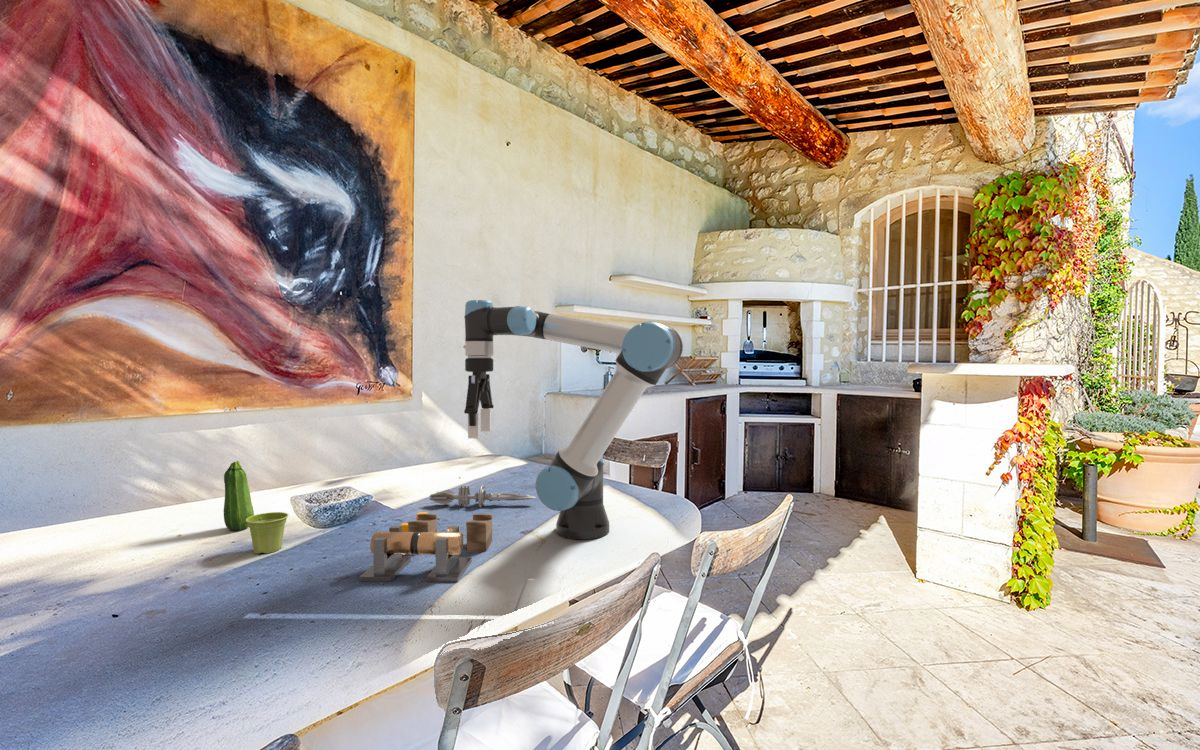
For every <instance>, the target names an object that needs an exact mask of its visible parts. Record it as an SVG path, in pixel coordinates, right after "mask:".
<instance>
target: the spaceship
mask: <svg viewBox="0 0 1200 750" xmlns="http://www.w3.org/2000/svg"><path fill="white" fill-rule="evenodd" d="M429 497H430V498H429V500H428V501H433V502H434V503H437V504H441V505H444V506H446V505H448V504H450V503H452V502H453V501H455V500H457V501H458V507H459V506H461V507H462V506H463V507H462V508H465V507H468V504H469V505H470V502H471V500H474V501H475V503H478V506H479V507H478V508H479V509H482V507H483V506H485V505H486V501H488V502H493V501H497V502H500V501H526V500H527V501H529V500H533V499H537V496H534V495H531V494H519V493H518V494H517V493H509V492H507V493H500V492H498V493H493V492H489V493H487V492H486V488H485V485H484V484H482V485H481V486H480V487H479V490H478V492H475V494H473V495H472V494H471V492H470V486H467V487H466V486H465V485H462V486H460V487H459V488H458V494H457V495H455V492H454V491H452V490H450V489H446V490H445V489H444V490H442V491H437V492H435V493H432V494H430V495H429ZM461 504H462V505H461ZM464 504H466V505H464Z"/></svg>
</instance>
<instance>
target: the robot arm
mask: <svg viewBox="0 0 1200 750" xmlns="http://www.w3.org/2000/svg"><path fill="white" fill-rule="evenodd" d="M463 318H464V331H465V333H464V334H465V335H464V336H465V338H464V339H465V340H464V341H465V342H464V343H465V344H464V345H463V346H462V348H463V349H465V351H464V352H465V353H464V356H466V358H465V359H464V360H465V362H464V364H465V365H464V367H465V368H464V370H465V372H467V373H468V372H469V373H471V375H468V384H467V394H466V402H465V409H464V411H463V412H464V414H467V439H480V432H491V431H492V430H491V429H492V428H491V425H492V421H491V419H492V418H491V412H492V410H491V409H494V404H493V398H492V391H491V382H490V381H491V380H490V378H491V377H490V372H493V371H494V359H493V357H494V336H519V337H529V338H530V337H531V338H536V339H542V340H548V341H553V342H558V343H561V344H562V343H563V344H567V345H574V346H579V347H583V348H588V349H593V350H599V351H603V352H604V351H605V352H609V353H614V354H618V355H617V357H616V358H615V360H614V361H615V367H616V370H615V372H614V374H613V375H612V376H611V378H610V379H609V382H608V383H607V385H606V386H605V388H604V390H603V391H602V393H600V396H599V397H598V399H597V400H596V402H595V403H594V405H593V406H592V408H591V410H590V411H589V412H588V415H587V416H586V418H585V419H584V421H583V423H581V426H580V427H579V429H578V430H577V432H576V434H575V435H574V436H573V438H572V440H571V441H570V443H569V445H568V446H563V447H560V448H559V449H558V451H557V453H556V454H555V456H554V457H553V459H552V460H551V462H550V463H549V465H548V466H545V467H543V469H541V470H540V471H539V473H538V474H537V476H536V479H535V484H534V485H535V491H536V495H537V497H538V500H540V502H541V503H542V504H543V505H544V507H546V508H548V509H549V510H552V511H555V512H559V514H558V518H557V521H556V524H555V527H556V529H555V531H556V534H557V535H558V536H560V537H562V538H566V539H571V540H592V539H597V538H601V537H604V536H606V535H607V534H609V533H610V520H609V518H608V514H607V511H606V509H605V505H604V466H605V462H604V454H605V452H606V451H607V449H608V448H609V446H610V444H611V443H612V442H613V440H614V439H615V437H616V436H617V433H618V432H619V431H620V429H621V428H622V426H623V424H624V423H625V421H626V420H627V418H628V416H629V415H630V414H631V413H632V411H633V409H634V408H635V407H636V405H637V403H638V401H639V400H640V398H641V396H642V395H644V392H645V390H646V389H648V388H652V387H655V386H657V384H658V382H659V380H660V379H661V377H663V374H664V373H665V372H666V370H668V369H669V368H671V367H673V366H674V365H676V364H677V363H678V362H679V360H680V358H681V357H682V353H683V350H684V349H683V347H684V345H683V340H682V338H681V336H680V334H679V333H678V332H677V330H675V329H674V328H673V327H671V326H668V325H665V324H662V323H660V322H658V321H645V322H643V321H642V322H640V323H637V324H635V325H634V326H632V327H629V326H624V325H617V324H611V323H606V322H600V321H594V320H589V319H582V318H578V317H577V318H576V317H572V316H570V317H569V316H564V315H559V314H553V313H547V312H543V311H538V310H533V309H532V308H531V307H530V306H522V305H521V306H520V305H516V306H502V307H494V303H493V301H492V300H488V299H486V300H485V299H471V300H468V301H466V302H465V306H464V317H463ZM488 372H489V374H487V373H488ZM480 406H481V408H480V413H478V412H479V407H480Z"/></svg>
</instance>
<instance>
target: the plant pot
mask: <svg viewBox="0 0 1200 750" xmlns="http://www.w3.org/2000/svg"><path fill="white" fill-rule="evenodd" d="M288 518H289V513H287V512H285V511H284V512H283V511H274V512H273V511H271V512H270V511H269V512H265V513H264V512H263V513H257V514H254V515H253V516H251V517H248V518H247V519H246V522H247V523H248V526H249V527H248V528H249V531H250V532H249V533H250V536H251V544H252V549H253V553H255V554H261V553H264V554H270V553H275V552H277V551H279V550H280V549H282V546H283V540H284V531H285V525H286V523H287V519H288Z"/></svg>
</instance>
